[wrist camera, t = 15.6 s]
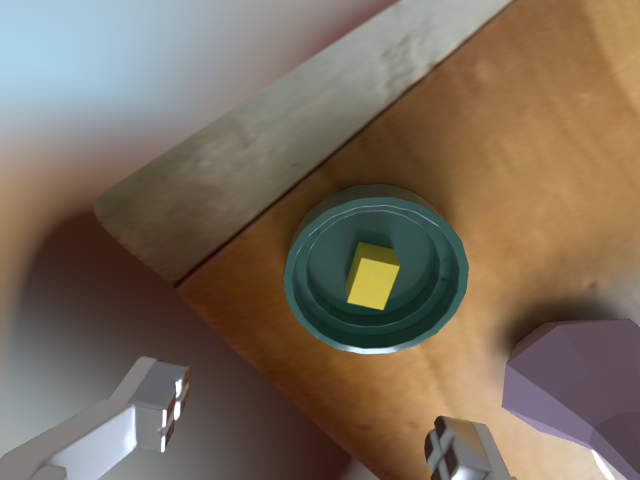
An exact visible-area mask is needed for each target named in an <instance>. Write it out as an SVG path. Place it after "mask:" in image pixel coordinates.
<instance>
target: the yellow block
mask: <svg viewBox="0 0 640 480" xmlns="http://www.w3.org/2000/svg"><path fill="white" fill-rule="evenodd" d="M399 267H400V265H399V263H398V260H397V257H396V254H395V252H394V249H390V248H386V247H381V246H377V245H372V244H368V243H364V242H359V243H358V246H357V249H356V252H355V256H354V259H353V262H352V265H351V268H350V272H349V275H348V278H347V281H346V291H347V302H348V303H352V304H357V305H362V306H366V307H371V308H376V309H380V310H383V309H384V307H385V304H386V301H387V299H388V296H389V294H390V291H391V288H392V286H393V283H394V281H395V278H396V275H397V273H398V270H399Z"/></svg>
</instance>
